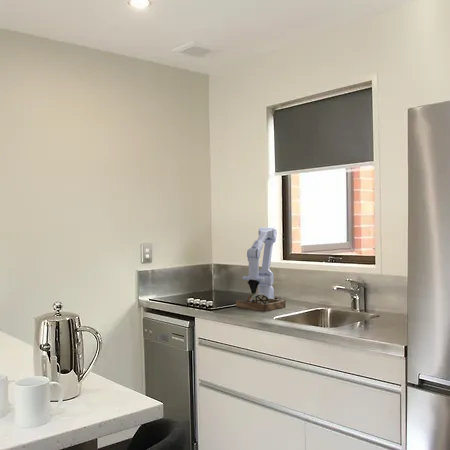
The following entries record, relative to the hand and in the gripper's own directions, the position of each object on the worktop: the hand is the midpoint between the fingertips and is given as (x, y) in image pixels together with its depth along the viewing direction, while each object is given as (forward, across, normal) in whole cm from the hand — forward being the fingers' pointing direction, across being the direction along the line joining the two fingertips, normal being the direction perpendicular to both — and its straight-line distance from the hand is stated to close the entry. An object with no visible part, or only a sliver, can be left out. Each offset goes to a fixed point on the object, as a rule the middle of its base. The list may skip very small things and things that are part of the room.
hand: (253, 293), depth 295 cm
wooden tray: (+7, +5, 0) cm, 8 cm away
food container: (+2, +1, +1) cm, 3 cm away
